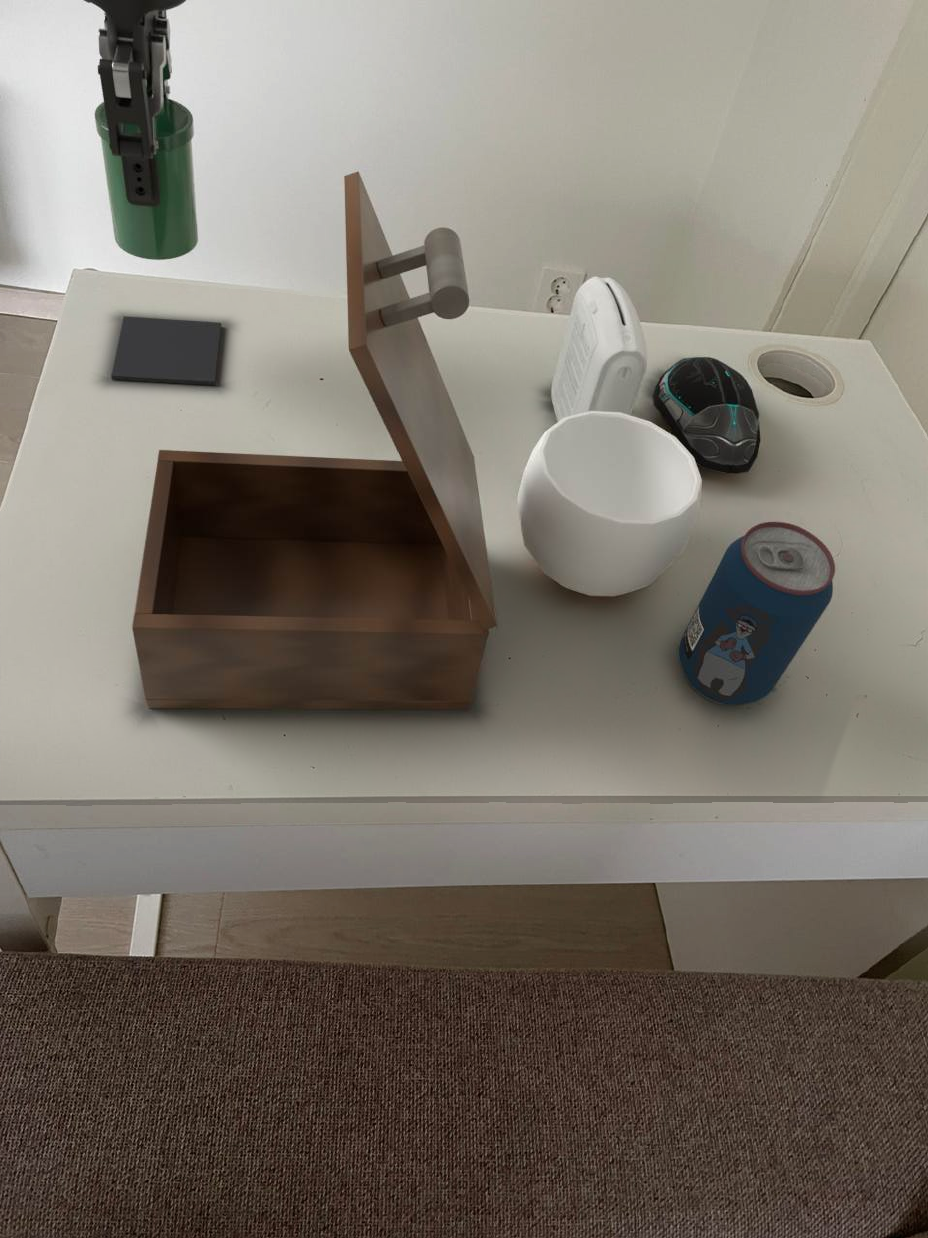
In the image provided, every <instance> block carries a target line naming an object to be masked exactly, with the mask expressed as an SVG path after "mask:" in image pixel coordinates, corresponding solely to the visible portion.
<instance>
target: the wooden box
mask: <svg viewBox="0 0 928 1238" xmlns="http://www.w3.org/2000/svg"><path fill="white" fill-rule="evenodd" d="M153 481H154V482H153V487H152V494H151V500H150V508H149V513H148V514H149V515H148V520H147V527H146V534H145V540H144V547H143V553H142V559H141V567H140V572H139V573H140V574H139V580H138V587H137V593H136V600H135V607H134V611H133V612H134V614H133V619H132V625H131V628H132V634H133V641H134V645H135V649H136V650H135V651H136V655H137V656H136V657H137V662H138V666H139V672H140V677H141V682H142V688H143V693H144V699H145V705H146V707H147V709H250V710H251V709H254V710H255V709H257V710H259V709H262V710H263V709H265V710H266V709H269V710H270V709H271V710H273V709H274V710H275V709H276V710H284V709H285V710H439V711H441V710H442V711H443V710H444V711H445V710H448V711H449V710H454V711H455V710H457V711H459V710H462V711H463V710H465V711H469V710H470V709H471V706H472V702H473V700H474V694H475V691H476V687H477V684H478V679H479V676H480V671H481V669H482V668H481V667H482V664H483V660H484V656H485V653H486V652H485V651H486V648H487V646H488V645H487V644H488V641H489V637H490V629H488V630H484V629H483V627H482V625H481V622H480V620H479V618H478V616H477V614H476V612H475V610H474V608H473V606H472V604H471V602H470V600H469V598H468V596H467V594H466V591H465V589H464V587H463V585H462V583H461V581H460V579H459V577H458V575H457V573H456V571H455V569H454V567H453V565H452V563H451V560H450V558H449V556H448V554H447V552H446V550H445V548H444V546H443V544H442V542H441V540H440V538H439V536H438V534H437V532H436V529H435V527H434V525H433V523H432V521H431V519H430V517H429V515H428V513H427V511H426V509H425V507H424V505H423V503H422V501H421V499H420V496H419V494H418V492H417V490H416V488H415V486H414V484H413V482H412V480H411V478H410V476H409V474H408V472H407V470H406V468H405V465H404V463H403V461H402V460H391V459H390V460H388V459H370V458H369V459H368V458H367V459H366V458H346V457H345V458H344V457H343V458H342V457H323V456H303V455H302V456H300V455H282V454H281V455H280V454H279V455H278V454H260V453H259V454H257V453H237V452H218V451H217V452H216V451H215V452H214V451H196V450H195V451H194V450H193V451H192V450H174V449H173V450H172V449H159V450H158V454H157V462H156V467H155V474H154V480H153Z"/></svg>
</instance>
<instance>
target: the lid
mask: <svg viewBox="0 0 928 1238" xmlns="http://www.w3.org/2000/svg"><path fill="white" fill-rule="evenodd" d="M343 180H344V217H345V218H344V219H345V221H344V222H345V223H344V224H345V258H346V259H345V260H346V261H345V263H346V295H347V299H346V300H347V301H346V302H347V334H348V336H347V338H348V339H347V340H348V351H349V354H350V356H351V358H352V360H353V362H354V365H355V367H356V368H357V370H358V373H359V375H360V377H361V379H362V381H363V383H364V385H365V387H366V389H367V392H368V394H369V396H370V397H371V399H372V402H373V403H374V405H375V407H376V410H377V412H378V414H379V417H380V418H381V420H382V422H383V424H384V427H385V428H386V431H387V432H388V435H389V436H390V439H391V441H392V443H393V445H394V447H395V449H396V451H397V453H398V456H399V457H400V460H401V461H403V463H404V465H405V468H406V470H407V472H408V474H409V476H410V478H411V480H412V482H413V484H414V486H415V488H416V490H417V492H418V494H419V496H420V499H421V501H422V503H423V505H424V507H425V509H426V511H427V513H428V515H429V517H430V519H431V521H432V523H433V525H434V527H435V529H436V532H437V534H438V536H439V538H440V540H441V542H442V544H443V546H444V548H445V550H446V552H447V554H448V556H449V558H450V560H451V563H452V565H453V567H454V569H455V571H456V573H457V575H458V577H459V579H460V581H461V583H462V585H463V587H464V589H465V591H466V594H467V596H468V598H469V600H470V602H471V604H472V606H473V608H474V610H475V612H476V614H477V616H478V618H479V620H480V622H481V625H482V627H483V629H484V630H488V629H489V630H491V629H495V628H498V622H497V615H496V607H495V600H494V593H493V586H492V578H491V571H490V565H489V563H490V562H489V558H488V557H489V556H488V549H487V541H486V536H485V528H484V521H483V513H482V506H481V505H482V504H481V497H480V491H479V483H478V476H477V469H476V461H475V456H474V454H473V451H472V448H471V446H470V444H469V441H468V439H467V436H466V433H465V432H464V431H465V430H464V429H463V426H462V424H461V422H460V418H459V416H458V414H457V412H456V408H455V406H454V404H453V401H452V399H451V397H450V394H449V391H448V388H447V386H446V384H445V382H444V379H443V377H442V374H441V372H440V369H439V367H438V364H437V362H436V359H435V357H434V354H433V352H432V350H431V348H430V345H429V342H428V340H427V337H426V335H425V332H424V330H423V327H422V324H421V322H420V320H419V318H421V317H424V316H427V315H431V314H433V313H434V314H435V315H436V316H437V317H439V318H441V319H443V320H455V319H457V318H460V317H461V316H463V315H464V314H465V313H466V312H467V311H468V308H469V306H470V296H469V289H468V283H467V277H466V269H465V263H464V257H463V250H462V244H461V239H460V237H459V235H458V234H457V232H456V231H455V230H453V229H451V228H449V227H443V226H442V227H437V228H434V229H432V230H431V231H429V232H428V234H427V235H426V236H425V238H424V241H423V245H421V246H417V247H414V248H412V249H408V250H406V251H403V252H400V253H396V254H393V252H392V251H391V248H390V246H389V243H388V241H387V238H386V236H385V233H384V231H383V228H382V225H381V222H380V221H379V218H378V215H377V213H376V210H375V207H374V205H373V204H372V201H371V198H370V196H369V193H368V191H367V188H366V186H365V184H364V181H363V178H362V176H361V174H360V172H359V171H355V172H352V173H350V174H346V175H344V179H343ZM422 267H426V276H427V285H428V292H427V293H423V294H420V295H417V296H414V297H410V295H409V292H408V290H407V287H406V285H405V283H404V280H403V278H402V275H401V274H403V273H407V272H410V271H413V270H416V269H419V268H422Z"/></svg>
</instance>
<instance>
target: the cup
mask: <svg viewBox="0 0 928 1238" xmlns="http://www.w3.org/2000/svg"><path fill="white" fill-rule="evenodd" d="M702 486H703V478H702V476H701V473H700V470H699V468H698V464H697V463H696V462H695V459H694V457H693V456H692V455H691V454H690V452H689V451H688V450H687V449H686V448H685V447H684V446H683V445H682V444H681V442H680V441H679V440H678V439H677V438H676V437H675V436H674V435H673V434H671V433H670V432H668V431H666V430H665V429H664V428H662V427H660V426H658V425H656V424H655V423H654V422H651V421H650V420H646V419H643V418H640V417H637V416H635V415H632V414H631V415H627V414H624V413H621V412H603V411H588V412H584V413H580V414H576V415H572V416H568V417H564V418H563V419H561V420H560V421H559V422H556V423H555V424H554V425H553V424H552V426H550V428H548V429H546V430H545V431H544V432H543V434H542V435H541V437H540V439H539V440H538V442H537V443H536V444H535V446H534V448H533V449H532V450H531V453H530V456H529V458H528V461H527V463H526V466H525V468H524V470H523V474H522V477H521V482H520V485H519V490H518V494H517V498H516V501H517V502H516V503H517V508H518V517H519V524H520V529H521V535H522V541H523V546H524V547H525V548H526V550H527V552H528V553H529V555H530V556H531V557H532V559H533V560H534V561H535V563H536V564H537V565H538V567H539V568H540V570H541V571H542V572H543V574H544V575H546V576H548V577H549V578H550V579H552V580H553V581H555V582H556V583H558V584H559V585H560V586H562V587H563V588H565V589H567V590H571V591H573V592H576V593H579V594H583V595H587V596H589V597H616V596H621V595H625V594H628V593H631V592H635V591H637V590H640V589H643V588H646V587H648V586H650V585H651V584H652V583H654V581H656V580H657V578H658V577H659V576H661V574H663V573H664V572H665V571H666V570H667V569H668V568H669V567H670V566H671V565H672V564H673V563H674V562H675V561H676V560H677V559H678V558H679V557H680V556H681V555H682V554H683V553H684V552H685V549H686V548H687V545H688V544H689V540H690V538H691V536H692V534H693V532H694V529H695V528H696V524H697V519H698V515H699V512H700V511H699V510H700V507H701V498H702Z"/></svg>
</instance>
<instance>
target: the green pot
mask: <svg viewBox="0 0 928 1238" xmlns="http://www.w3.org/2000/svg"><path fill="white" fill-rule="evenodd" d="M151 97H152V95H147V98H148V100H149V99H150V98H151ZM163 103H164V110H163V113H162V114H161V115H159V116H158V117H157V118H156V133H157V141H158V144H159V148H158V149H157V160H158V171H159V181H160V191H161V199H160V203H159V205H158V206H156V207H151V206H139V205H132V204H130V203H129V202H128V200H127V198H126V190H125V182H124V174H123V166H122V158H121V156H113V155H112V151H111V149H110V147H109V141H110V138H109V132H108V125H107V119H106V112H105V106H104V101H103V102H101V103H100V104H98V106H97V107H96V108H95V110H94V122H95V128H96V132H97V134H98V136H99V137H100V143H101V151H102V157H103V163H104V172H105V178H106V179H105V180H106V186H107V192H108V200H109V208H110V215H111V222H112V229H113V237H114V241H115V243H116V245H117V246H118V247H119V248H120V249H121V250H122V251H124V253H127V254H129V255H131V256H133V257H136V258H140V259H144V260H155V261H163V260H164V261H165V260H172V259H176V258H180V257H183V256H185V255H187V254H189V253H190V252H192V251H193V250H194V249H195V248H196V246H197V245H198V242H199V229H198V213H197V200H196V198H197V197H196V185H195V184H196V183H195V172H194V171H195V170H194V156H193V155H194V153H193V142H192V140H193V138H194V135H195V127H194V115H193V114H192V112H191V111H190V110H189V109H188V108H187V107H186V106H184V105H183V104H182V103H180V102H179V101H176V100H174V99H171V98H169V97H168V98H164V97H163ZM125 128H126V132H132V133H141V130H140V127H139V126H138V125H135V124H126V123H125Z"/></svg>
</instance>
